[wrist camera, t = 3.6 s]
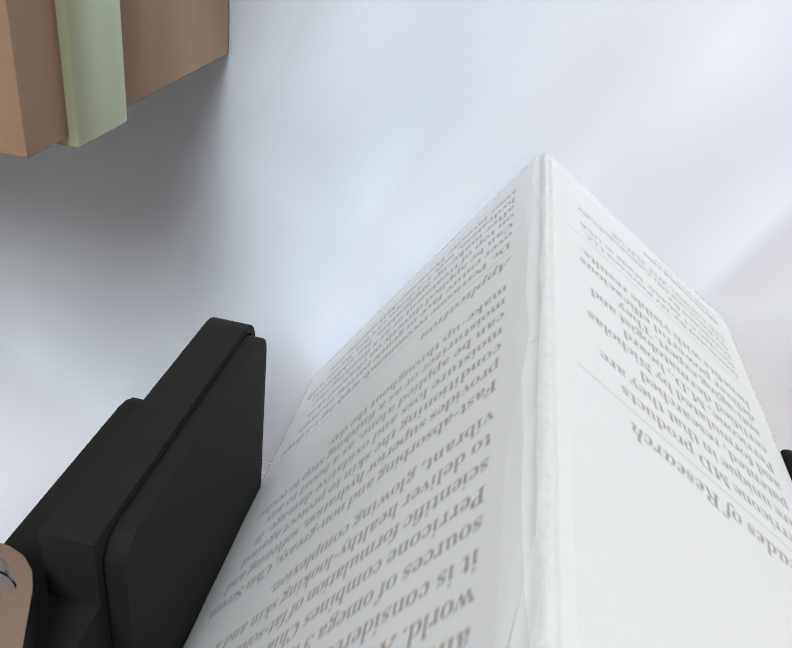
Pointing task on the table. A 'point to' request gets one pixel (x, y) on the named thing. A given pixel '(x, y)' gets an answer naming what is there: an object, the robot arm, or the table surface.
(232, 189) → the table surface
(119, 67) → the gift box
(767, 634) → the skincare box
